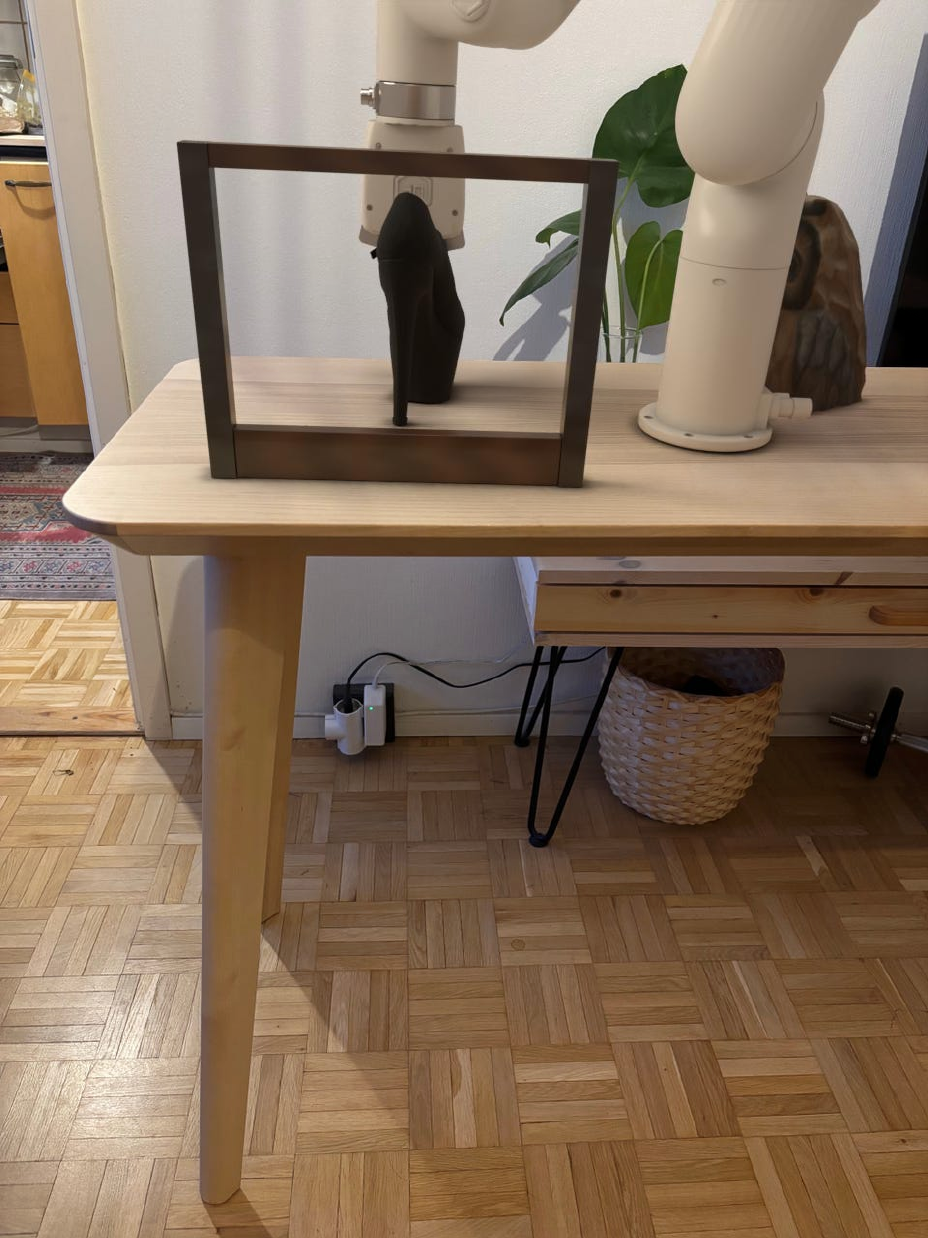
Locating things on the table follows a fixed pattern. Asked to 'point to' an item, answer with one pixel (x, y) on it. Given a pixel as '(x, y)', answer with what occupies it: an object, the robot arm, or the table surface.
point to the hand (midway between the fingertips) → (410, 305)
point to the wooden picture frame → (393, 448)
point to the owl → (821, 313)
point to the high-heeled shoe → (418, 305)
